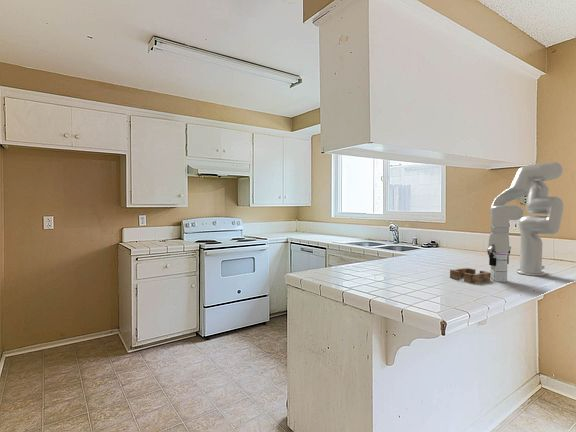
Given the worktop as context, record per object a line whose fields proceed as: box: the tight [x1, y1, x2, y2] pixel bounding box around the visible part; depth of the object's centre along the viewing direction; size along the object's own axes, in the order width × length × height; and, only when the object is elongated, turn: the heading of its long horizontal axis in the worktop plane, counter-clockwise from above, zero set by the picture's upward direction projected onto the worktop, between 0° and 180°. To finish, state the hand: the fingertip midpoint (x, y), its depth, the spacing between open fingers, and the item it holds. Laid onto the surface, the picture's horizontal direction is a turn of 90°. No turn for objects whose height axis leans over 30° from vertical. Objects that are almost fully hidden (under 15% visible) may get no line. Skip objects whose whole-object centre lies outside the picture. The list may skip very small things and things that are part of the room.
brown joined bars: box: [449, 267, 491, 284], centre depth 167 cm, size 14×14×4 cm
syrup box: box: [490, 252, 508, 283], centre depth 164 cm, size 6×6×14 cm
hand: (498, 264), depth 164 cm, fingers open, 9 cm apart
